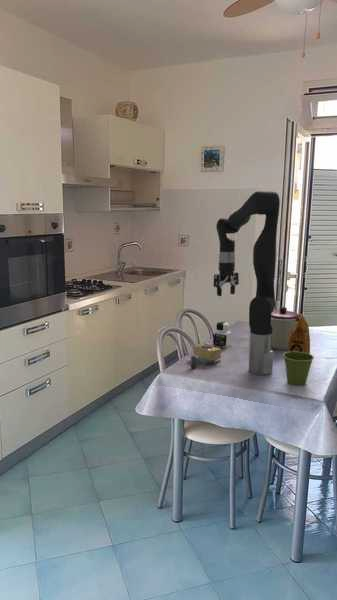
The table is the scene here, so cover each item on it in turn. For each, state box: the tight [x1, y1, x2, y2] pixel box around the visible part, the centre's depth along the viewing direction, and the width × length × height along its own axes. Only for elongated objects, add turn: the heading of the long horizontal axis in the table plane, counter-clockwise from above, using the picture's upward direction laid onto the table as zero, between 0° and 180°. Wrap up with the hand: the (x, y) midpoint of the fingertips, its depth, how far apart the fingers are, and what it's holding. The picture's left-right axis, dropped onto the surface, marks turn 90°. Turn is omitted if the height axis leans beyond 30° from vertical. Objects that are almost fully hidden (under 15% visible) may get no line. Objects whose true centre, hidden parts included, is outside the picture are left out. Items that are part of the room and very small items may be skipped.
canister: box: [271, 306, 300, 351], centre depth 231 cm, size 18×18×21 cm
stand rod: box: [190, 354, 198, 370], centre depth 201 cm, size 2×2×5 cm
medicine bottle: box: [212, 321, 232, 349], centre depth 235 cm, size 7×7×12 cm
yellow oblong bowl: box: [192, 342, 222, 361], centre depth 210 cm, size 12×6×4 cm, turn 37°
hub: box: [197, 342, 221, 366], centre depth 210 cm, size 9×9×8 cm
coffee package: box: [287, 313, 311, 354], centre depth 206 cm, size 10×12×22 cm
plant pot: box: [282, 351, 315, 386], centre depth 184 cm, size 12×12×11 cm
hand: (225, 294), depth 221 cm, fingers open, 8 cm apart
